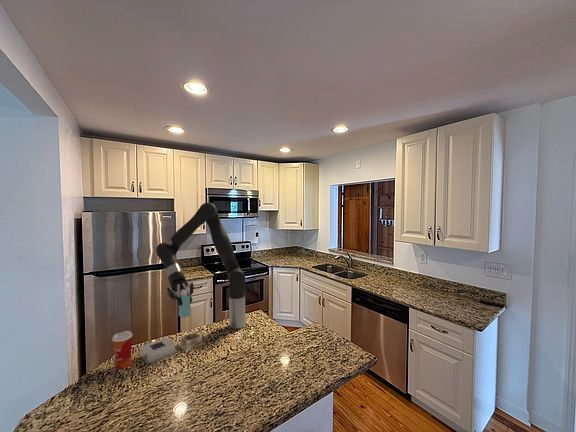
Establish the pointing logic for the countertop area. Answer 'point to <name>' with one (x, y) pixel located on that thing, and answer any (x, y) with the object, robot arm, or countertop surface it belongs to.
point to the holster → (190, 341)
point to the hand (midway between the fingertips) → (186, 303)
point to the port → (156, 350)
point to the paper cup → (122, 349)
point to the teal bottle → (184, 304)
